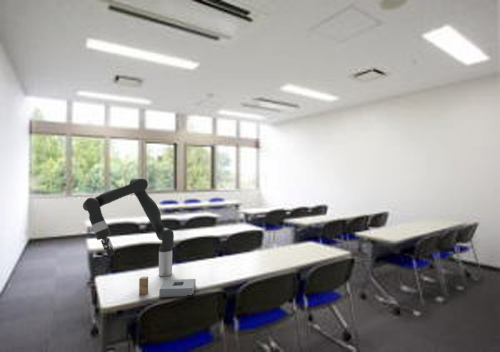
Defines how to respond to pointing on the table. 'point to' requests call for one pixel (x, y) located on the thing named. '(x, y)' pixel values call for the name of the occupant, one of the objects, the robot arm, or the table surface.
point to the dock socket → (177, 287)
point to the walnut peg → (143, 286)
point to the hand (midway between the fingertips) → (111, 255)
